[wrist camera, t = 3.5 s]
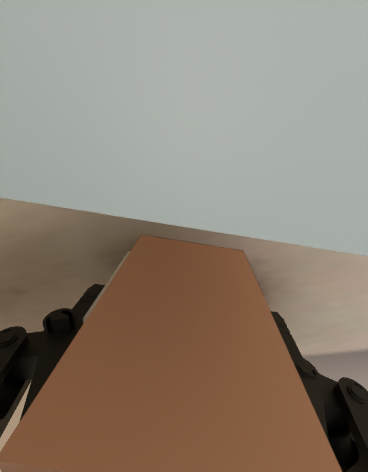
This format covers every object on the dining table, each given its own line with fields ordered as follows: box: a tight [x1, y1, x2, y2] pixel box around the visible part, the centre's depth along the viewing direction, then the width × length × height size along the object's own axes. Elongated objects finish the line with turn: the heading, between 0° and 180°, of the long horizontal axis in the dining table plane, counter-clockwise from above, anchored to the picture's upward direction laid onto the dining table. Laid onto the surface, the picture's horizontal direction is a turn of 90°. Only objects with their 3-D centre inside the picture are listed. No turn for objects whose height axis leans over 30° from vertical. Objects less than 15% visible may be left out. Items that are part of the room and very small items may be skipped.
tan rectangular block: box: [0, 235, 342, 472], centre depth 11 cm, size 8×5×12 cm, turn 82°
